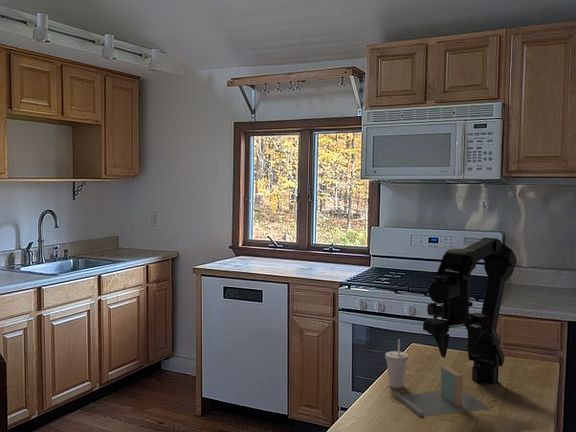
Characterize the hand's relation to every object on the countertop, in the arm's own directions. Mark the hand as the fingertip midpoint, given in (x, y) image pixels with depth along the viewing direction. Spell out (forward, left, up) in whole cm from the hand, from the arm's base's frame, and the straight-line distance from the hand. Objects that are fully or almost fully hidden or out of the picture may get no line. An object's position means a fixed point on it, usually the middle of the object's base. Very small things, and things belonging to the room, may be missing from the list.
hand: (456, 354), depth 154 cm
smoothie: (+12, -12, -12) cm, 21 cm away
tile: (+3, +2, -11) cm, 12 cm away
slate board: (+6, +2, -12) cm, 14 cm away
